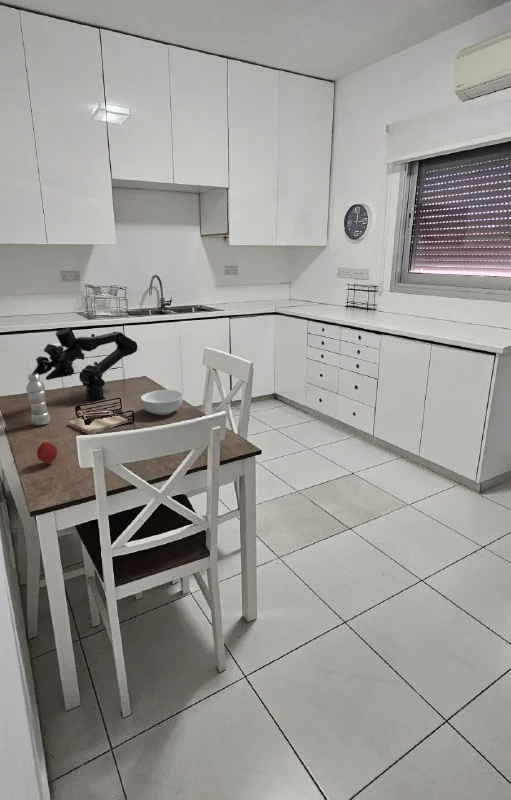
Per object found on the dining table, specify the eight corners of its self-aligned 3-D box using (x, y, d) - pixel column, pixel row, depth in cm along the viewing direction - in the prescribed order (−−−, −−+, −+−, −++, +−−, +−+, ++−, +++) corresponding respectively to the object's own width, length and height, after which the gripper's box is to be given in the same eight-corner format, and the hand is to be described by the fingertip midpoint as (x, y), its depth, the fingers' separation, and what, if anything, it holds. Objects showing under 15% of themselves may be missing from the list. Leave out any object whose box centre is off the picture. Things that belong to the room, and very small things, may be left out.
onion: (42, 460, 149) (38, 437, 147) (61, 459, 150) (57, 436, 147) (36, 468, 144) (32, 444, 141) (55, 467, 144) (51, 443, 142)
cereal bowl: (134, 412, 192) (132, 396, 189) (167, 403, 203) (165, 387, 201) (158, 422, 181) (157, 404, 178) (192, 411, 192) (191, 394, 190)
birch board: (107, 414, 190) (106, 410, 190) (128, 423, 180) (127, 419, 179) (69, 424, 179) (68, 421, 179) (89, 435, 169) (88, 431, 168)
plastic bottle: (54, 422, 182) (46, 372, 176) (42, 428, 176) (33, 377, 170) (41, 420, 184) (33, 371, 178) (28, 426, 178) (19, 376, 172)
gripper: (45, 337, 195) (14, 358, 185) (74, 341, 185) (44, 363, 175) (57, 360, 201) (28, 380, 191) (86, 364, 192) (57, 386, 182)
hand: (39, 377), depth 185 cm, fingers open, 9 cm apart
